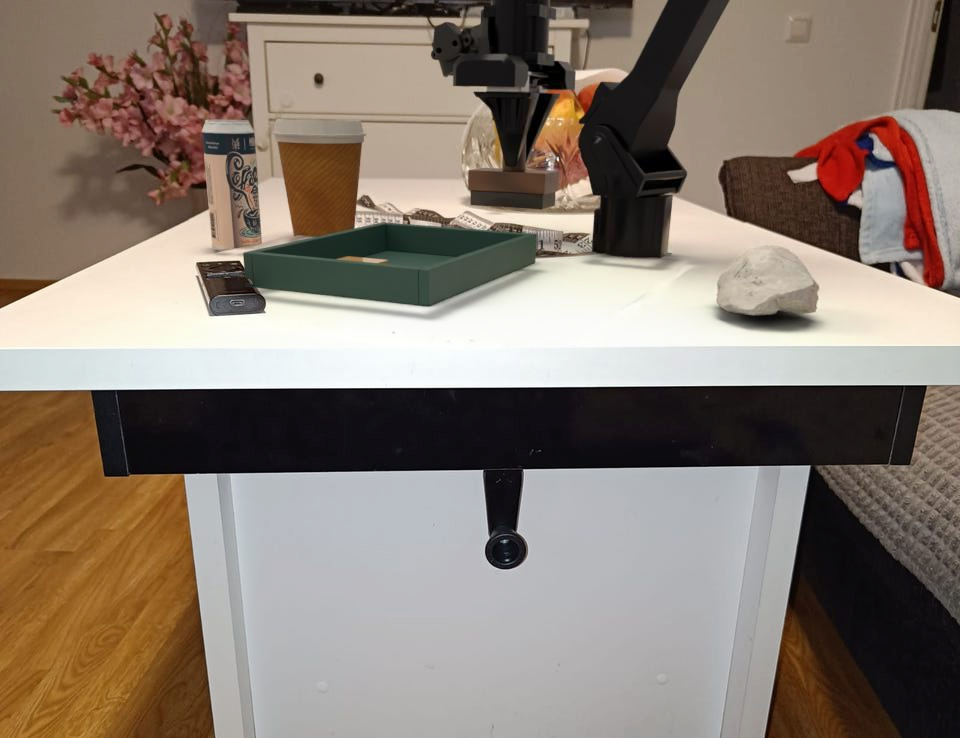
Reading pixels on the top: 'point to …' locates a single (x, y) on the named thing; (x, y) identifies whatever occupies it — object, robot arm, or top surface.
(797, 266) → the grey stone
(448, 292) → the tray
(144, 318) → the top surface
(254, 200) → the coffee drink can
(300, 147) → the disposable coffee cup
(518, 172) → the scrub brush
